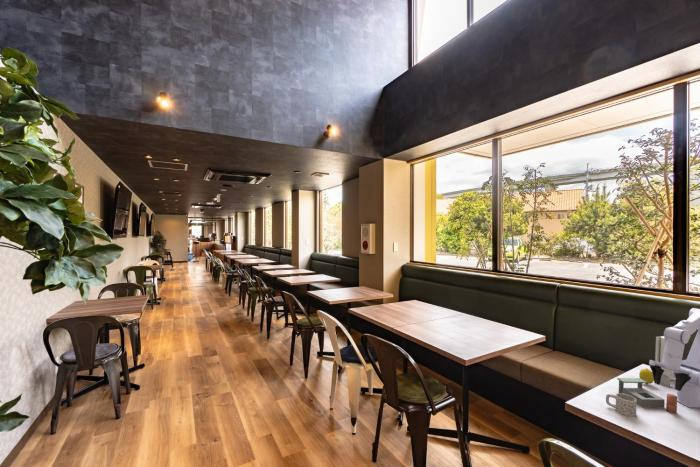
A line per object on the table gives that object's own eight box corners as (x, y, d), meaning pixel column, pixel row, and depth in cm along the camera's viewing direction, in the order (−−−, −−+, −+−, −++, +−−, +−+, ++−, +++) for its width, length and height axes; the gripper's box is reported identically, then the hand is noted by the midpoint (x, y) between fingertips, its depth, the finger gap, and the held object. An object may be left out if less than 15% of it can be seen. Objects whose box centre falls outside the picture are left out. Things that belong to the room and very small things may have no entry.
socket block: (639, 392, 151) (639, 378, 151) (665, 407, 139) (666, 391, 139) (616, 392, 151) (616, 377, 151) (640, 407, 139) (641, 391, 139)
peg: (671, 409, 137) (671, 393, 137) (679, 413, 134) (679, 397, 134) (663, 409, 137) (664, 393, 137) (671, 413, 134) (672, 397, 134)
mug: (636, 412, 134) (637, 397, 134) (635, 419, 130) (636, 403, 130) (606, 403, 142) (607, 388, 141) (604, 409, 137) (604, 393, 137)
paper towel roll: (677, 378, 166) (678, 338, 166) (673, 381, 163) (674, 340, 163) (658, 373, 173) (660, 334, 172) (654, 375, 170) (656, 336, 169)
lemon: (656, 387, 157) (657, 371, 156) (643, 386, 158) (644, 370, 158) (648, 382, 162) (649, 366, 162) (636, 381, 163) (636, 365, 163)
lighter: (670, 385, 159) (670, 369, 159) (669, 386, 158) (670, 370, 158) (650, 380, 164) (651, 365, 164) (650, 381, 163) (650, 366, 163)
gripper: (659, 352, 135) (654, 384, 134) (700, 363, 132) (695, 396, 131) (648, 348, 142) (642, 379, 141) (686, 359, 138) (681, 390, 137)
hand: (667, 387), depth 136 cm, fingers open, 7 cm apart
